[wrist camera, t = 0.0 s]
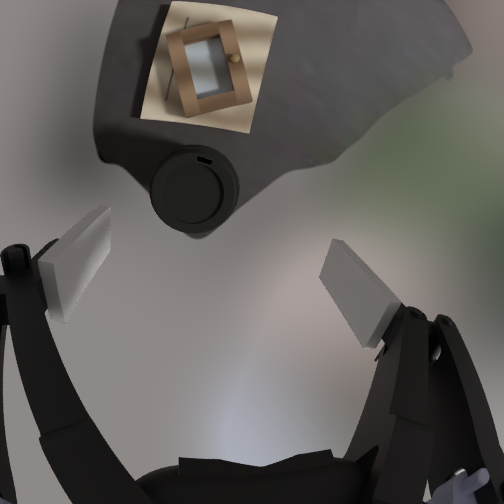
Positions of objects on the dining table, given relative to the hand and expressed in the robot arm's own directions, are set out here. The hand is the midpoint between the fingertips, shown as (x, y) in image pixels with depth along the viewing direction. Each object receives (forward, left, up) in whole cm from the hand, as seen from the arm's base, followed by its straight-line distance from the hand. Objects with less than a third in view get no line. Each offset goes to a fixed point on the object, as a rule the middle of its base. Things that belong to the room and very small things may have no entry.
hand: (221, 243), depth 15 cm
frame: (-15, -4, -26) cm, 30 cm away
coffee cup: (+1, -2, -28) cm, 28 cm away
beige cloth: (-16, -4, -28) cm, 33 cm away
